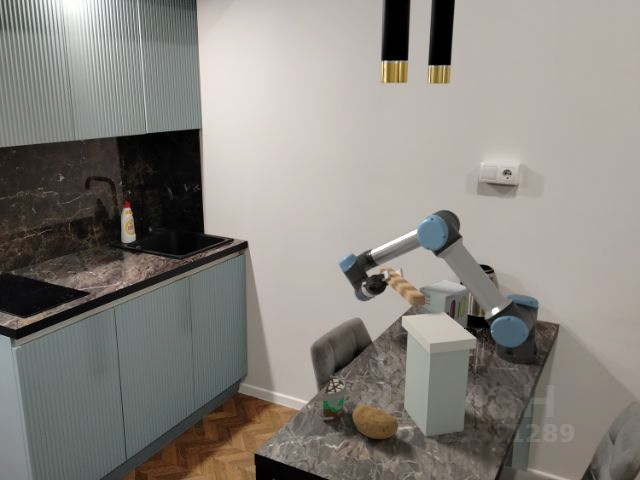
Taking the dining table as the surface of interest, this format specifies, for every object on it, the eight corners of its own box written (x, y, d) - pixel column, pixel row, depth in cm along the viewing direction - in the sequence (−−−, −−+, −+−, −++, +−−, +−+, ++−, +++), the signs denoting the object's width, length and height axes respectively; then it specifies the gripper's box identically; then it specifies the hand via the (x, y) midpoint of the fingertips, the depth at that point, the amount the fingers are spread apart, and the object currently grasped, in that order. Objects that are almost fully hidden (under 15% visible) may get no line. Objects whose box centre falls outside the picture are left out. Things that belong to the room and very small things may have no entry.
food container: (342, 426, 177) (343, 396, 174) (322, 424, 178) (322, 394, 175) (349, 405, 188) (349, 376, 186) (330, 403, 189) (330, 374, 187)
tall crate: (398, 404, 189) (402, 316, 181) (438, 398, 192) (444, 312, 184) (424, 440, 170) (430, 343, 162) (468, 433, 174) (476, 338, 166)
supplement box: (442, 339, 236) (445, 296, 232) (416, 329, 246) (418, 288, 241) (467, 327, 248) (471, 286, 243) (441, 318, 257) (444, 278, 252)
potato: (387, 452, 164) (388, 427, 162) (345, 434, 172) (345, 410, 170) (404, 436, 172) (406, 411, 170) (363, 420, 180) (364, 396, 178)
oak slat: (379, 276, 213) (379, 268, 212) (389, 275, 214) (390, 267, 213) (412, 306, 185) (413, 297, 184) (424, 305, 186) (425, 296, 185)
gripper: (396, 293, 227) (420, 281, 205) (353, 297, 222) (373, 285, 200) (393, 274, 228) (416, 260, 206) (351, 277, 224) (370, 263, 202)
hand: (395, 272), depth 203 cm, fingers closed on oak slat, 4 cm apart
